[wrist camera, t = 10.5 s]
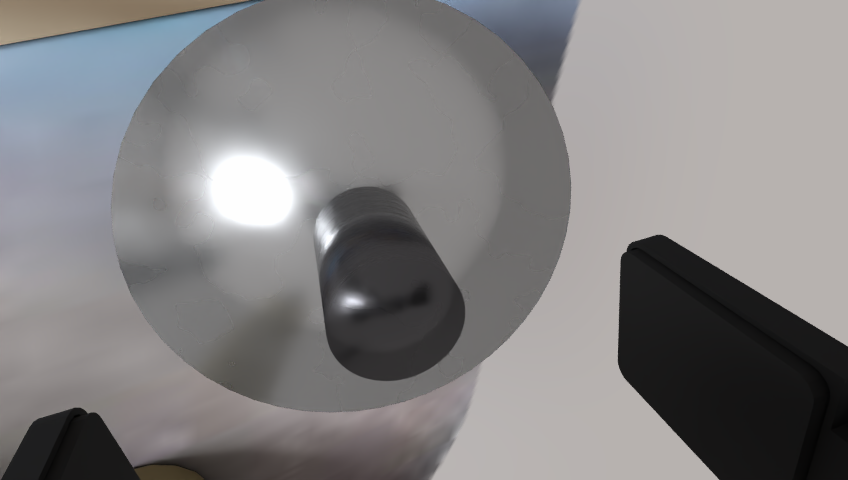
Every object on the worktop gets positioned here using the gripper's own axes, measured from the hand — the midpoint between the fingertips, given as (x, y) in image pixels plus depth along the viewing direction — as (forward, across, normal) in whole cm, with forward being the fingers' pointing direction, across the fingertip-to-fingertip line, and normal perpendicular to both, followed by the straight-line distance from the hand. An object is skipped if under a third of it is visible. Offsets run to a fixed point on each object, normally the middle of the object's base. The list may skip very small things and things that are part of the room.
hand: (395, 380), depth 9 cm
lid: (+8, -1, +1) cm, 8 cm away
